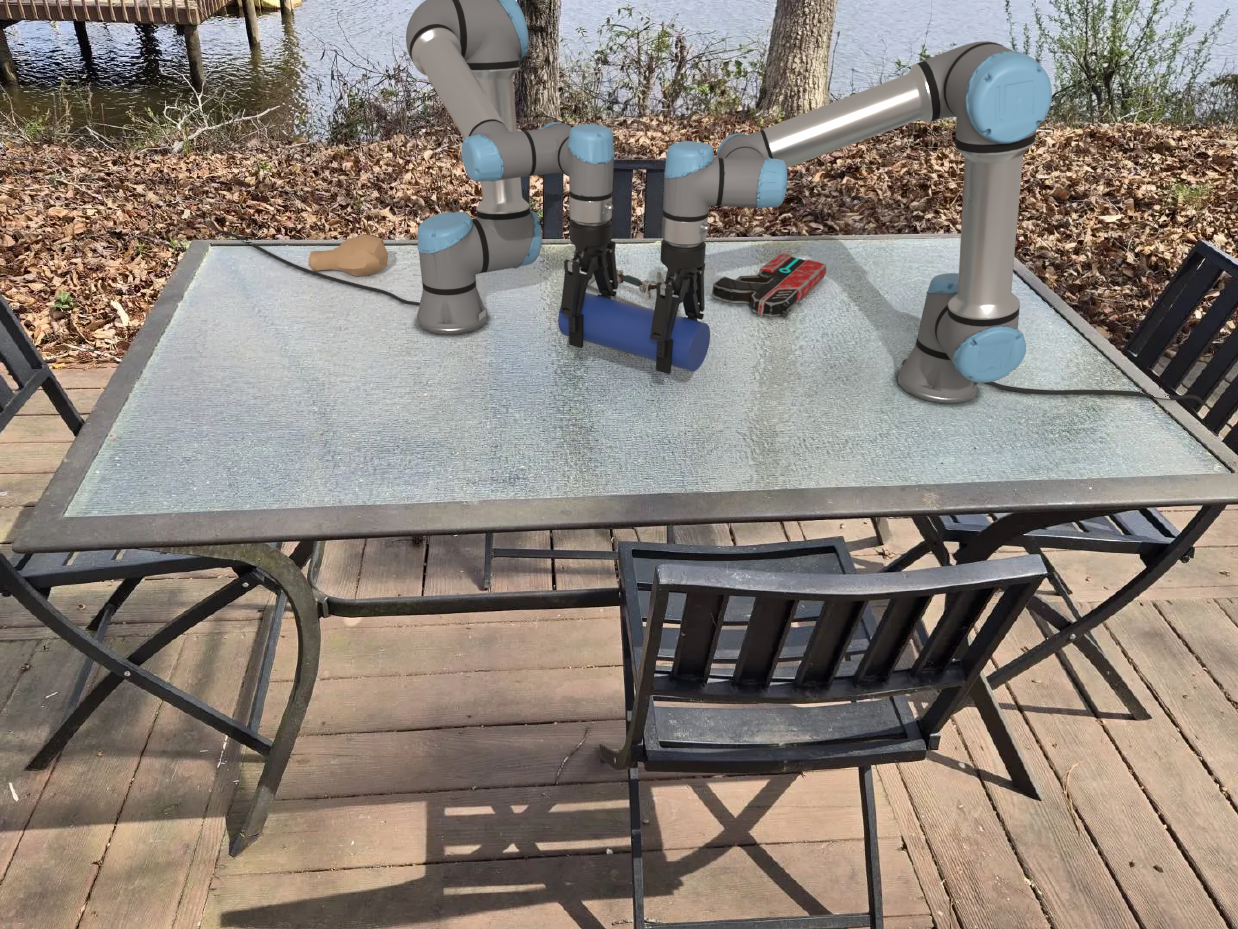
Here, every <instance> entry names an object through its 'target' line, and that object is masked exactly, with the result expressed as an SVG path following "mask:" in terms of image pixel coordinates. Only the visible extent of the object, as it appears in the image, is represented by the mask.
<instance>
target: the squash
mask: <svg viewBox="0 0 1238 929" xmlns="http://www.w3.org/2000/svg"><path fill="white" fill-rule="evenodd" d="M388 263H389V253H388V251H387V248H386V246H385V242H384V239H382V238H381V237H378V236H374V235H372V234H366V233H363V234H361V235H358V236H355V237H349V238H346V239H345V240H344V241H342V242H341V243H340V245H339V246H336V247H335V248H333V249H327V250H313V251H310V253H309V256H308V267H310V270H311V271H314V272H319V271H323V270H335V271H342V272H343V273H345V274H347V275H348V274H349V275H351V276H353V277H369V276H371V275H374V274H375V273H377V272H379V271H381V270H384V269H385V268H386V267H388Z"/></svg>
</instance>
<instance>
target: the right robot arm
mask: <svg viewBox="0 0 1238 929" xmlns="http://www.w3.org/2000/svg"><path fill="white" fill-rule="evenodd" d="M1052 98H1053V89H1052V83H1051V80H1050V76H1049V75H1048V72H1047V71H1046V69H1044V68H1043V66H1042V65H1041V64H1040V63H1038V61H1037V60H1035V59H1034V58H1033V57H1032V56H1030V55H1028V54H1027V53H1024V52H1022V51H1017V50H1013V49H1011V48H1008V47H1006V46H1004V45H1003V44H1001V43H998V42H994V41H989V40H986V41H984V40H983V41H975V42H971V43H966V44H963V45H961V46H958V47H955V48H953V49H950V50H946V51H944V52H942V53H940V54H937V55H935V56H933V57H929V58H927V59H925V60H922V61H919V62H917V63H915V64H913V65H912V66H911V68H910V69H909V71H908V72H907V73H906V74H904V75H903V74H902V75H901V76H898V77H896V78H893V79H891V80H889V81H886V82H882V83H880V84H878V85H877V84H876V85H875V86H872V87H869V88H867V89H865V90H861V91H859V92H857V93H854V94H852V95H849V96H846V97H844V98H841V99H838V100H836V101H833V102H829V103H828V104H826V105H823V106H819V107H818V108H815V109H812V110H809V111H807V112H804V113H802V114H799V115H796V116H794V117H790V118H788V119H786V120H784V121H780V122H778V123H776V124H773V125H771V126H768V127H764V128H762V129H760V130H757V131H754V132H751V133H749V134H745V133H742V132H741V133H739V132H735V133H732V134H730V135H728V136H726V137H725V138H724V139H723V140H722V141H721V142H720V144H719V146H718V147H717V151H716V156H715V154H714V149H713V147H712V145H711V144H708V143H706V142H703V141H695V140H693V141H692V140H683V141H678V142H674V143H672V144H671V145H670V146H669V147H668V149H667V151H666V154H665V155H666V156H665V166H664V167H665V168H664V171H663V174H664V175H663V177H664V178H663V199H662V220H661V235H660V237H661V239H662V240H661V242H660V258H659V259H660V262H661V263H662V265H663V266H665V267H666V269H667V270H666V275H665V279H664V281H665V282H664V283H660V282H658V283H657V286H656V289H655V290H656V292H655V293H656V295H655V296H656V298H655V304H654V309H653V310H654V316H653V322H652V329H651V336H650V338H651V339H654V340H657V355H656V361H655V371H656V372H659V373H661V374H666V375H671V373H672V367H673V366H672V350H673V339H671V335H672V331H673V327H674V323H675V320H676V316H677V312H678V309H679V308H680V305H681V304H682V306H683V310H684V314H685V316H684V318H687V319H691V320H695V321H699V320H700V321H701V320H703V319H704V316H705V314H704V313H703V312H705V309H706V306H705V305H706V304H705V302H706V301H705V270H706V262H705V261H706V249H707V243H706V242H705V241H706V240H707V234H708V232H709V230H710V225H709V224H708V221H709V213H710V212H709V211H710V207H724V208H753V209H757V208H758V209H760V210H761V209H768V208H778V207H780V206H781V205H782V204H783V203H784V201H785V198H786V194H787V187H788V169H789V168H791V167H794V166H797V165H799V164H802V163H804V162H808V161H810V160H813V159H816V158H818V157H821V156H823V155H827V154H829V153H832V152H834V151H835V152H836V151H838V150H840V149H842V148H843V149H844V148H846V147H849V146H851V145H854V144H857V143H860V142H862V141H865V140H867V139H870V138H873V137H875V136H879V135H881V134H884V133H887V132H890V131H892V130H895V129H898V128H901V127H903V126H905V125H908V124H909V125H910V124H911V123H914V122H917V121H922V122H924V123H926V124H929V123H932V122H935V121H938V120H940V119H945V118H956V119H955V120H956V121H955V143H954V148H955V150H956V151H957V152H958V153H959V154H960V155H962V156H963V158H964V167H963V183H962V204H961V205H962V206H961V227H960V242H959V243H960V244H959V246H960V247H959V266H958V272H949V273H947V272H946V273H941V274H938V275H935V276H934V277H933V278H931V281H930V282H929V285H928V289H927V290H926V292H925V294H926V296H925V301H924V306H923V309H922V314H921V318H920V323H919V327H918V332H917V336H916V341H915V345H914V346H913V348H912V350H911V351H910V353H909V355H908V357H907V358H906V359H903V360H902V362H901V367H900V369H899V372H898V376H897V383H898V385H899V387H901V389H902V390H904V391H905V392H906V393H907V394H909V395H911V396H913V397H915V398H918V399H921V400H923V401H926V402H927V401H928V402H931V403H935V404H942V405H943V404H945V405H954V404H963V403H966V402H969V401H971V400H972V399H974V397H975V396H976V395H977V391H978V387H979V384H983V385H987V386H990V387H993V388H995V389H996V388H997V389H999V390H1002V391H1003V390H1004V391H1008V392H1015V393H1022V394H1031V395H1033V394H1035V395H1050V396H1051V395H1052V396H1053V395H1054V396H1055V395H1056V396H1057V395H1059V396H1062V395H1063V396H1064V395H1065V396H1068V395H1069V396H1071V395H1109V396H1110V395H1112V396H1113V395H1115V396H1130V397H1142V398H1149V399H1150V398H1151V399H1156V398H1155V397H1154V396H1153V395H1151V394H1143V393H1140V392H1141V391H1138V390H1137V391H1135V390H1121V389H1120V390H1119V389H1039V388H1025V387H1016V386H1010V385H1005V384H1001V383H998V382H996V381H999V380H1002V379H1003V378H1006V377H1007V376H1009V375H1010V373H1012V372H1013V371H1016V370H1017V368H1018V367H1019V366H1021V363H1022V362H1023V360H1024V359H1025V356H1026V352H1027V342H1026V340H1025V337H1024V334H1023V332H1021V330H1020V329H1019V318H1020V307H1021V301H1020V299H1019V297H1017V296H1016V295H1015V294H1014V293H1012V290H1013V289H1012V287H1013V278H1014V277H1013V276H1014V266H1015V265H1014V264H1015V254H1016V242H1017V230H1018V219H1019V207H1020V198H1021V186H1022V185H1021V184H1022V174H1023V164H1024V163H1023V162H1024V155H1025V153H1026V152H1027V151H1029V149H1031V147H1033V146H1034V145H1035V143H1036V138H1037V137H1036V136H1037V130H1038V127H1039V126H1040V125H1041V123H1043V122H1044V121H1045V119H1046V117H1047V115H1048V113H1049V111H1050V108H1051V105H1052ZM1166 395H1167V396H1169V398H1170V399H1171V400H1170V401H1183V400H1193V401H1195V402H1196V403H1197V404H1199V405H1205V402H1204V400H1203V399H1202V398H1201V397H1199V396H1198V395H1195V394H1176V395H1174V394H1166ZM1165 397H1166V396H1165Z"/></svg>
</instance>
